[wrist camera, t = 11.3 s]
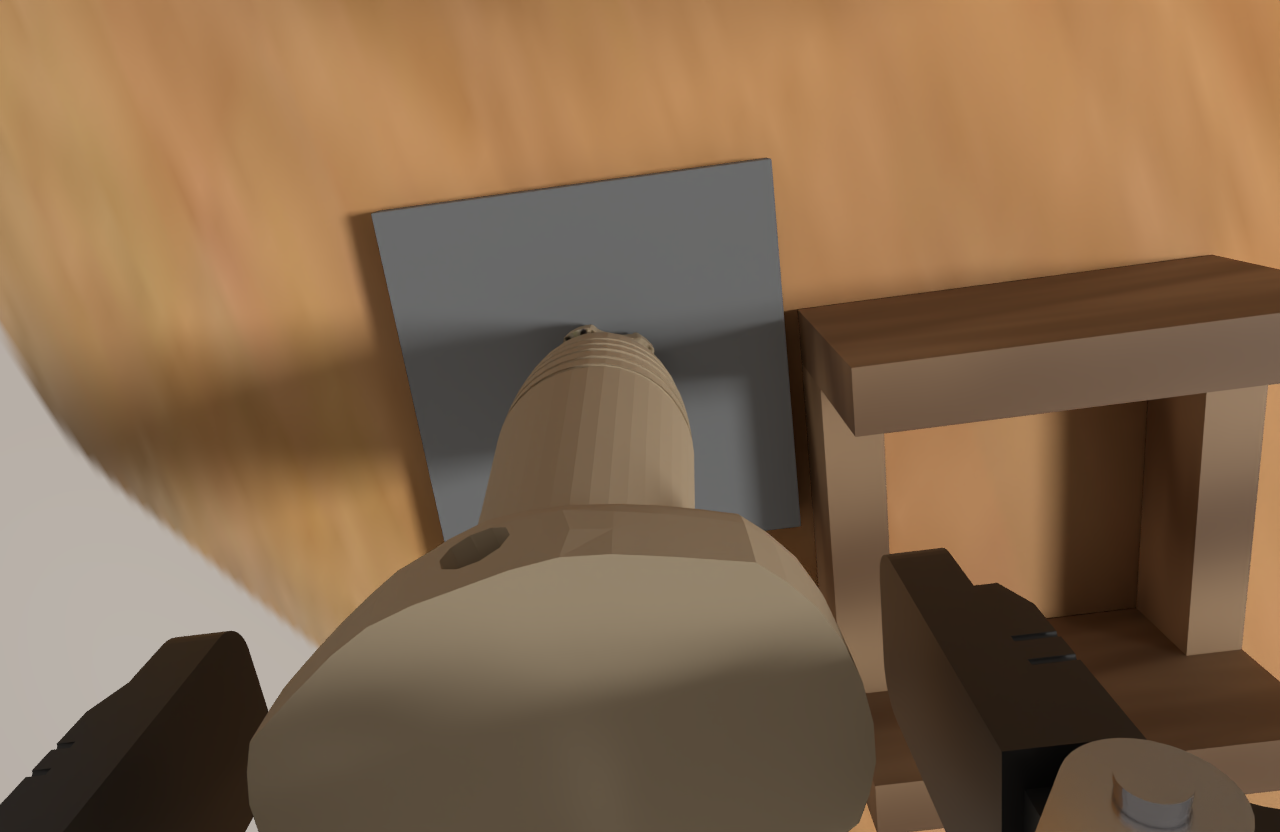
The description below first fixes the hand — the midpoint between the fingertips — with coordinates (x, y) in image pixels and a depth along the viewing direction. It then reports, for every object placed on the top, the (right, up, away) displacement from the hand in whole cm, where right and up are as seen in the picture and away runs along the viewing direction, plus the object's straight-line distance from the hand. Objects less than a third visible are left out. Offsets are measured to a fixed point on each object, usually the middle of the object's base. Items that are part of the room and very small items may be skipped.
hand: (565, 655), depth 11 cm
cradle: (+11, +1, +14) cm, 18 cm away
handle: (0, +4, +12) cm, 13 cm away
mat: (0, +4, +13) cm, 14 cm away
